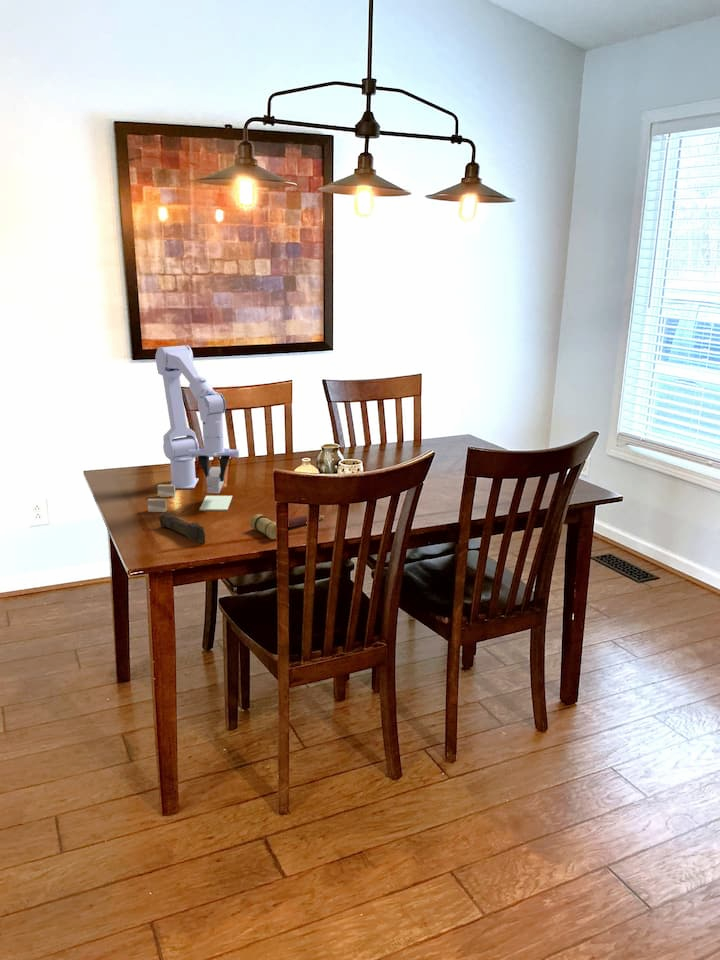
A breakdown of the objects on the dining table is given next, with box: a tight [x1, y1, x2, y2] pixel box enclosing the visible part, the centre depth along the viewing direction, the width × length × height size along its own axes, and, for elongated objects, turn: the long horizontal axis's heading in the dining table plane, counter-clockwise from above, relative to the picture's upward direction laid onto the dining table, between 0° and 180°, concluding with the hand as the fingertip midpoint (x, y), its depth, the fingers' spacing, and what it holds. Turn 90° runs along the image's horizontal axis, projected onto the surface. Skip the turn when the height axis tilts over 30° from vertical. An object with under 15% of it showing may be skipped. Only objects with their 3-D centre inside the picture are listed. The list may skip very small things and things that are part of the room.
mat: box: [199, 495, 233, 511], centre depth 231 cm, size 12×8×1 cm, turn 2°
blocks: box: [146, 484, 177, 513], centre depth 232 cm, size 17×5×4 cm, turn 2°
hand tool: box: [158, 512, 206, 544], centre depth 207 cm, size 19×4×5 cm, turn 43°
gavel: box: [250, 513, 325, 540], centre depth 214 cm, size 21×5×10 cm
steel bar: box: [205, 466, 225, 494], centre depth 229 cm, size 10×4×5 cm, turn 2°
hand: (215, 480), depth 229 cm, fingers closed on steel bar, 3 cm apart
